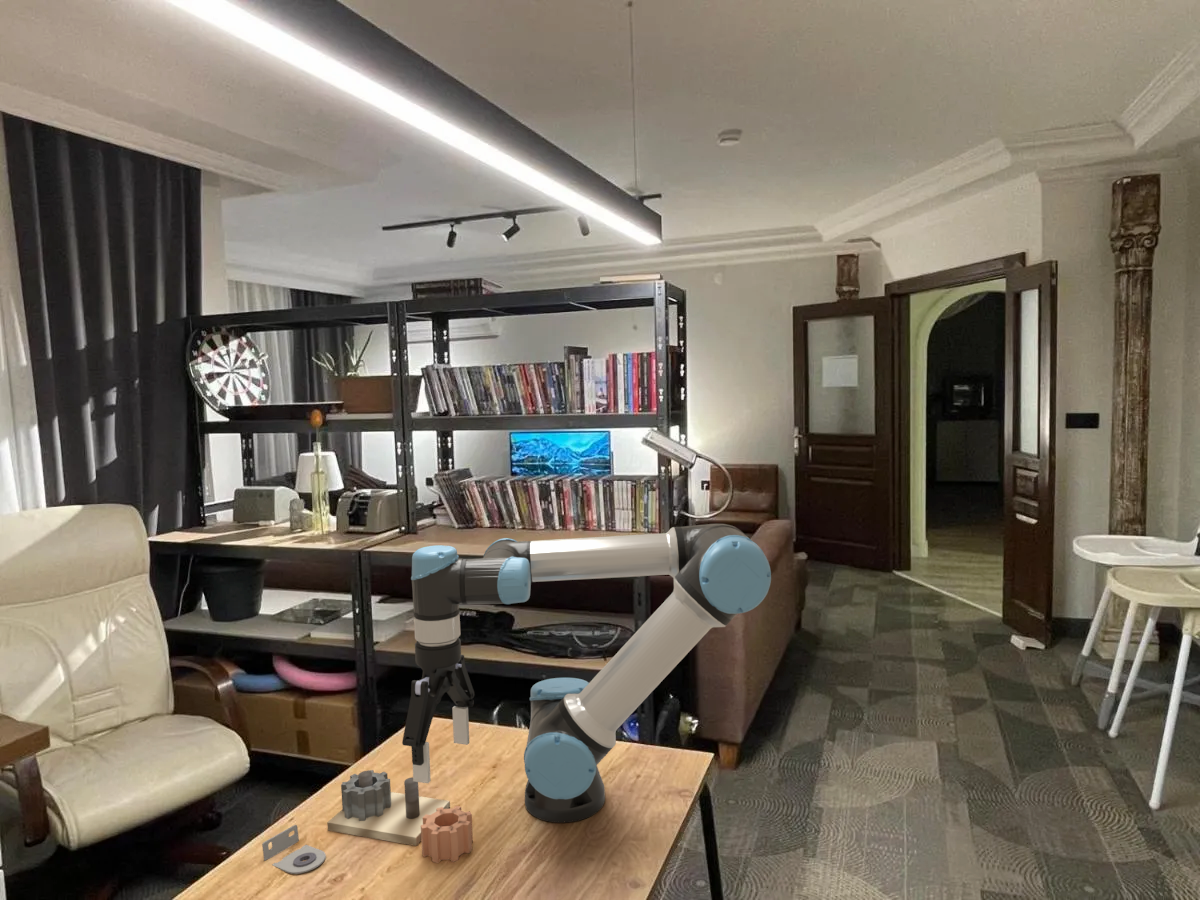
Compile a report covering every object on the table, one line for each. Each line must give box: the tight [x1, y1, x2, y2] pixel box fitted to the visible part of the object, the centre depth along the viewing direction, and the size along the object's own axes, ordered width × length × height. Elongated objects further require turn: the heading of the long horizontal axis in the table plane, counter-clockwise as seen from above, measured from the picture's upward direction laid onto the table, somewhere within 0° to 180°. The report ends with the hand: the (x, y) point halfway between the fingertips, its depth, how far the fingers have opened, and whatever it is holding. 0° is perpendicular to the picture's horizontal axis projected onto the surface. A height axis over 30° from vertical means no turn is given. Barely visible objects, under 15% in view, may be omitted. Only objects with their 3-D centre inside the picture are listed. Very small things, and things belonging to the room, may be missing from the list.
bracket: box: [261, 824, 327, 875], centre depth 129 cm, size 7×10×4 cm, turn 57°
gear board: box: [326, 769, 451, 847], centre depth 140 cm, size 18×12×8 cm, turn 73°
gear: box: [420, 805, 474, 864], centre depth 131 cm, size 8×8×5 cm
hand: (442, 761), depth 130 cm, fingers open, 13 cm apart
